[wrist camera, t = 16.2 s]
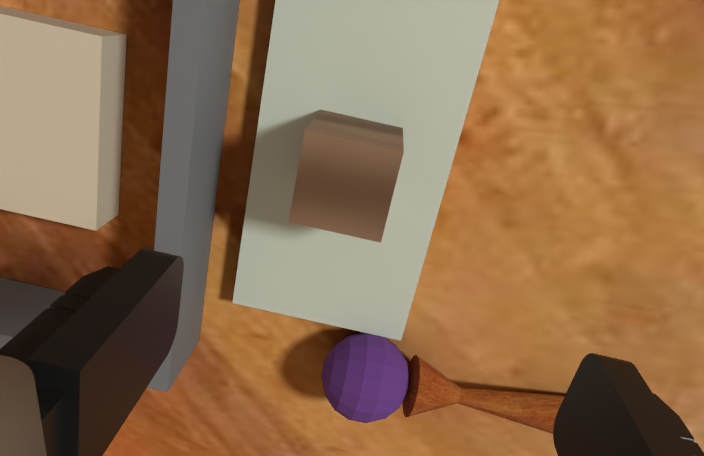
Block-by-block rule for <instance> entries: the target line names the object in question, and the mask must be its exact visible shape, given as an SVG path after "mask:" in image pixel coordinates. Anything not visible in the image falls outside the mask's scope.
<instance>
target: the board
mask: <svg viewBox="0 0 704 456" xmlns="http://www.w3.org/2000/svg"><path fill="white" fill-rule="evenodd" d="M498 3H499V0H275V7H274V14H273V21H272V28H271V35H270V42H269V49H268V56H267V63H266V70H265V77H264V84H263V91H262V99H261V106H260V113H259V120H258V127H257V134H256V141H255V148H254V155H253V162H252V169H251V176H250V183H249V190H248V197H247V204H246V211H245V218H244V225H243V232H242V239H241V246H240V253H239V260H238V267H237V274H236V281H235V288H234V295H233V302H232V303H235V304H239V305H244V306H248V307H252V308H257V309H261V310H266V311H270V312H275V313H279V314H284V315H288V316H293V317H297V318H302V319H306V320H310V321H315V322H319V323H324V324H328V325H333V326H337V327H342V328H346V329H351V330H355V331H359V332H364V333H368V334H373V335H377V336H382V337H386V338H391V339H395V340H400V341H401V339H402V335H403V332H404V328H405V325H406V322H407V318H408V315H409V311H410V308H411V304H412V301H413V297H414V294H415V290H416V287H417V283H418V280H419V276H420V273H421V270H422V266H423V263H424V259H425V256H426V252H427V249H428V245H429V242H430V238H431V235H432V231H433V228H434V225H435V221H436V218H437V214H438V211H439V207H440V204H441V200H442V197H443V193H444V190H445V186H446V183H447V179H448V176H449V173H450V169H451V166H452V162H453V159H454V155H455V152H456V148H457V145H458V141H459V138H460V134H461V131H462V128H463V124H464V121H465V117H466V114H467V110H468V107H469V103H470V100H471V96H472V93H473V89H474V86H475V82H476V79H477V76H478V72H479V69H480V65H481V62H482V58H483V55H484V51H485V48H486V44H487V41H488V37H489V34H490V31H491V27H492V24H493V20H494V17H495V13H496V10H497V6H498ZM320 110H326V111H330V112H334V113H339V114H343V115H348V116H352V117H357V118H361V119H365V120H370V121H374V122H379V123H383V124H388V125H392V126H396V127H401V128H403V145H404V153H403V157H402V161H401V165H400V169H399V173H398V177H397V181H396V185H395V189H394V193H393V197H392V201H391V205H390V209H389V213H388V217H387V221H386V225H385V229H384V233H383V237H382V241H381V243H380V242H375V241H371V240H366V239H362V238H358V237H353V236H349V235H344V234H340V233H335V232H331V231H326V230H322V229H318V228H313V227H309V226H304V225H300V224H295V223H291V222H288V221H289V216H290V210H291V204H292V199H293V193H294V187H295V182H296V176H297V170H298V165H299V159H300V153H301V148H302V142H303V136H304V131H305V129H306V127H307V126H308V125H309V124H310V122H311V121H312V120H313V119H314V117H315V116H316V115H317V114H318V112H319V111H320Z"/></svg>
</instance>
